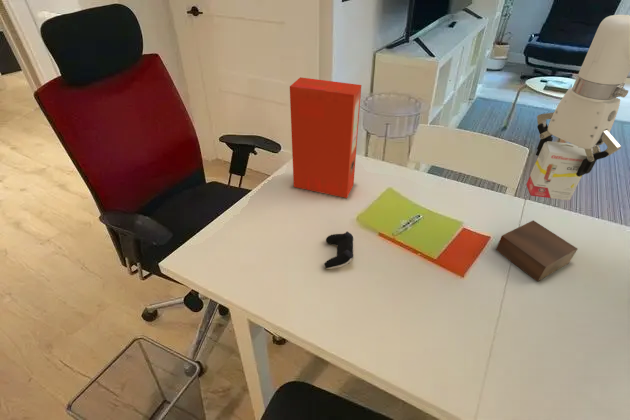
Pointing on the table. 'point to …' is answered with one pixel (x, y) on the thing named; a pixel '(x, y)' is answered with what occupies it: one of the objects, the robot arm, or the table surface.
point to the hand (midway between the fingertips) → (560, 163)
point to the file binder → (324, 134)
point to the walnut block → (535, 250)
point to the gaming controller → (340, 250)
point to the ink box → (556, 171)
